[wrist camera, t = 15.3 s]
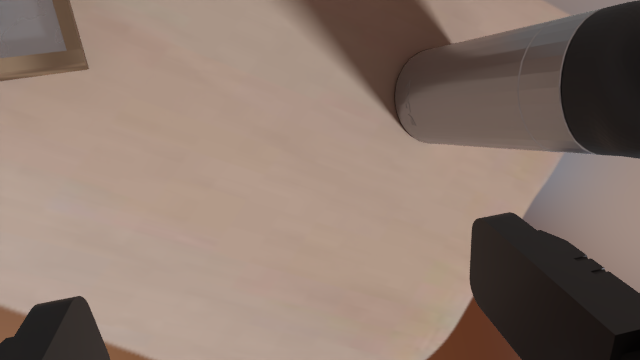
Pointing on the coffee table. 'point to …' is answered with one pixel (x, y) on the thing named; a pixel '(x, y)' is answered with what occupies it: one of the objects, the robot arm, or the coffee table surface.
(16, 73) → the walnut crate
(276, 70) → the coffee table surface
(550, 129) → the robot arm
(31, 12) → the grey metal bore plate
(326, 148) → the coffee table surface
